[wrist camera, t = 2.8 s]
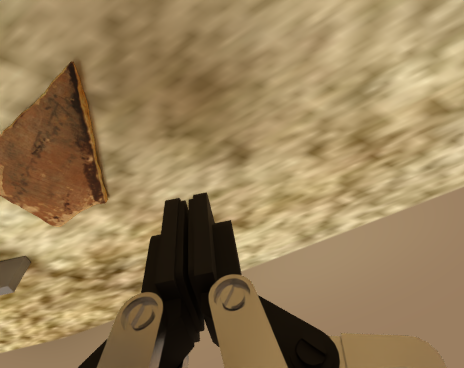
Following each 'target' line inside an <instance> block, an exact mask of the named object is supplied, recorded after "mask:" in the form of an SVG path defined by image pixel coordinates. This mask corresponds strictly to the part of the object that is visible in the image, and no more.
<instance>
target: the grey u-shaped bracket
mask: <svg viewBox="0 0 464 368" xmlns="http://www.w3.org/2000/svg"><path fill="white" fill-rule="evenodd" d="M30 263H31V262H30V261H29V260H28V258H27V257H26V256H24V257H20V258H15V259H10V260H6V261H1V262H0V295H3V294H8V293H13V292H14V291H15V289H16V288H17V286H18V284H19V282H20V281H21V279H22V277H23V275H24V273H25V272H26V270H27V268H28V266H29V265H30Z"/></svg>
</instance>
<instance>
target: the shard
mask: <svg viewBox="0 0 464 368" xmlns="http://www.w3.org/2000/svg"><path fill="white" fill-rule="evenodd" d="M101 176H102V173H101V169H100V167H99V165H98V162H97V156H96V150H95V142H94V136H93V131H92V127H91V120H90V117H89V110H88V103H87V100H86V97H85V93H84V91H83V89H82V86H81V79H80V78H79V76H78V73H77V70H76V67H75V64H74V62H72V61H71V62H70V63H69V65H68V66H67V67H65V68H64V69H63V71H62V73H60V74H59V75H58V76H57V77H56V78H55V79H54V80H53V81H52V83H51V84H50V86H49V87H48V89H47V90H46V92H45V93H44V94H42V95H41V97H40V98H39V99H38V100H37V101H36V102H35V103H34V104H33V105H32V106H31V107H30V108H29V109H27V110H25V111H24V112H23V113H21V114H20V115H19V116H18V118H17V119H16V120H15V121H14V122H13V123H12V125H11V126H10V127H8V128H7V129H5V130H4V131H3V132H2V134H1V135H0V196H2V197H4V198H5V199H7V200H8V201H10V202H11V203H13V204H16V205H18V206H20V207H21V208H23V209H25V210H27V211H28V212H30V213H32V214H34V215H36V216H37V217H39V218H41V219H42V220H43V221H45V222H47V223H48V224H50V225H52V226H57V227H61V226H62V225H64V224H65V223H67V222H68V221H69V220H70V219H72V218H73V217H74V216H75V215H77V214H78V213H80V212H81V211H83V210H85V209H88V208H89V207H92V206H93V205H95V204H103V203H106V202H107V200H108V198H107V193H106V190H105V187H104V185H103V182H102V177H101Z"/></svg>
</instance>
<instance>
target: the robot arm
mask: <svg viewBox="0 0 464 368" xmlns="http://www.w3.org/2000/svg"><path fill="white" fill-rule="evenodd" d="M204 320H205V322H206V325H207V328H208V330H209V333H210V336H211V338H212V341H213V342H214V343H215V344H216V345H217V346H218V347H220V351H221V355H222V359H223V364H224V368H447V367H446V365H445V363H444V360H443V359H442V357H441V356H440V354H439V353H438V351H437V350H436V349H435V348H434V347H432V346H431V345H430V344H429V343H428V342H426V341H423V340H422V339H420V338H417V337H413V336H406V335H378V334H348V333H341V336H327V335H326V334H325V333H324V332H322V331H320V330H319V329H317V328H315V327H313V326H312V325H310V324H308V323H306V322H305V321H303V320H301V319H299V318H297V317H296V316H294V315H292V314H290V313H288V312H287V311H285V310H283V309H282V308H279V307H278V306H276V305H274V304H273V303H271V302H269V301H267V300H265V299H264V298H262V297H260V296H258V295H257V292H256V290H255V287H254V286H253V284H252V282H251V281H250V280H249V279H248V278H246V277H244V276H242V275H241V269H240V264H239V258H238V253H237V248H236V243H235V238H234V233H233V228H232V223H231V220H230V221H225V222H220V223H215V222H214V218H213V215H212V211H211V207H210V203H209V199H208V195H207V193H201V194H196V195H193V199H189V210H188V207H187V204H186V201H181V200H180V198H176V199H171V200H167V201H165V207H164V214H163V222H162V230H161V235H156V236H152V237H151V239H150V244H149V250H148V256H147V261H146V267H145V273H144V279H143V285H142V291H141V293H140V294H137V295H135V296H133V297H132V298H130V299H129V300H128V301H126V302H125V303H124V305H123V306H122V307H121V308H120V310H119V312H118V314H117V316H116V319H115V321H114V324H113V327H112V329H111V332H110V335H109V337H108V339H107V340H106V341H105V342H104V343H103V344H102V345H101V346H100V347H98V348H97V349H96V350H95V351H94V352H93V353H92V354H91V355H90V356H89V357H88V358H87V359H86V360H85V361H84V362H83V363H82V364H81V365H80V366H79V367H78V368H188V361H189V358H188V354H189V352H190V351H191V350H192V349H193V347H194V342H199V341H200V335H199V332H200V331H204Z"/></svg>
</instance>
